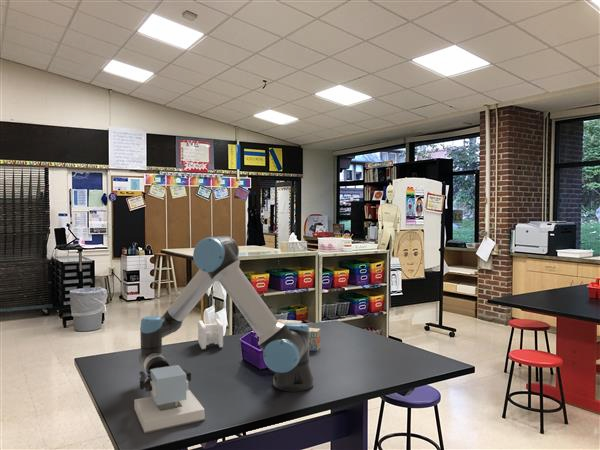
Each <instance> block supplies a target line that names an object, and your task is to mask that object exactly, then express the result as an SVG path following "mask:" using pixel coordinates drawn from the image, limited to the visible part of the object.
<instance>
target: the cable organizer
mask: <svg viewBox="0 0 600 450" xmlns="http://www.w3.org/2000/svg"><path fill="white" fill-rule="evenodd" d="M214 319H215V318H214ZM196 324H197V341H198V344H199V347H200V348H201V350H206V349H207V346H210V344H214V345H217V346H218V347H219V348H222V347H223V346H224V326H223V323H222V321H221V320H220V318H216V319H215V320H214V323H208V324H207V323H206V324H205V323H204V321H203V320H198V322H197V323H196Z"/></svg>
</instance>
